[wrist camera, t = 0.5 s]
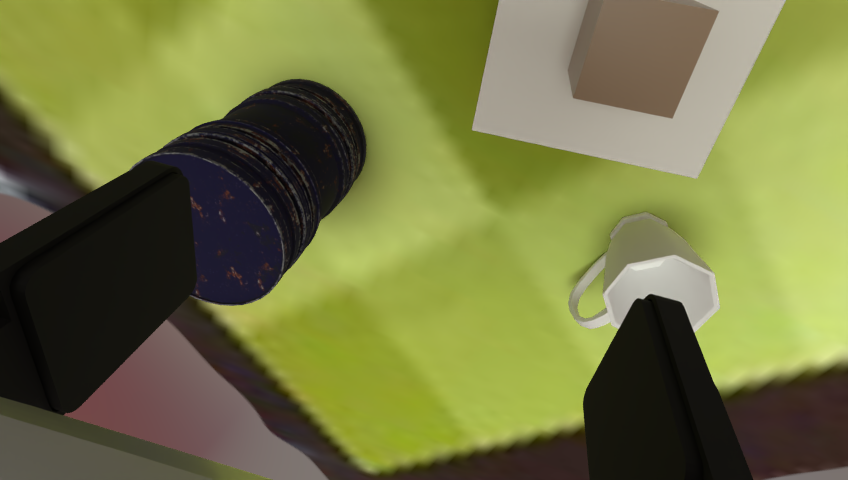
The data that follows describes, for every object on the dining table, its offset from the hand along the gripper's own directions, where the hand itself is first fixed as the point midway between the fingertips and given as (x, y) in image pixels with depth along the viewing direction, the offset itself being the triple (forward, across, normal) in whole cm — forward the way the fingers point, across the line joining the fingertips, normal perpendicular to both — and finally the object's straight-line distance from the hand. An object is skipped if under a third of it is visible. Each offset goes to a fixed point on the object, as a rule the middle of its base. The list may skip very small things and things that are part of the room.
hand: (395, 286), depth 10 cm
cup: (+28, -13, +12) cm, 33 cm away
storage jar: (+28, +13, +10) cm, 32 cm away
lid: (+19, -6, -4) cm, 20 cm away
